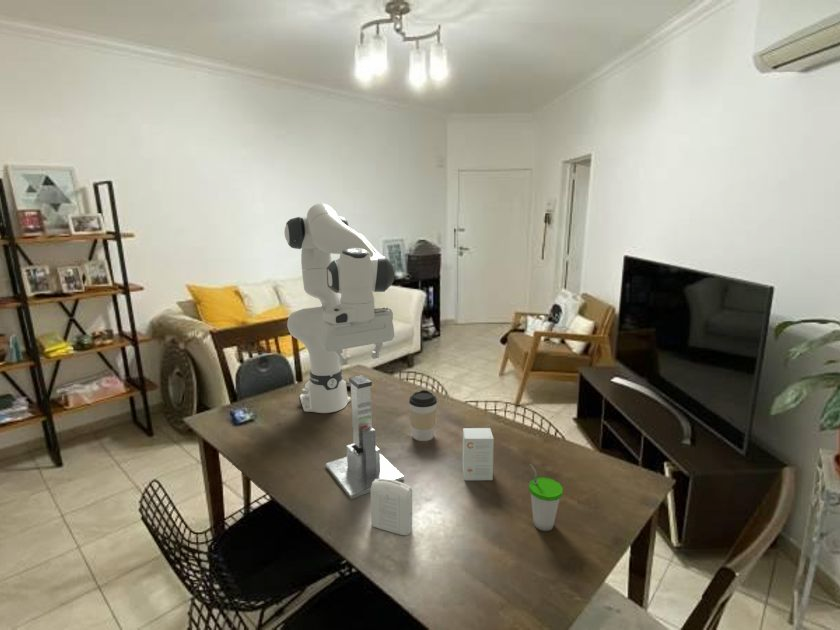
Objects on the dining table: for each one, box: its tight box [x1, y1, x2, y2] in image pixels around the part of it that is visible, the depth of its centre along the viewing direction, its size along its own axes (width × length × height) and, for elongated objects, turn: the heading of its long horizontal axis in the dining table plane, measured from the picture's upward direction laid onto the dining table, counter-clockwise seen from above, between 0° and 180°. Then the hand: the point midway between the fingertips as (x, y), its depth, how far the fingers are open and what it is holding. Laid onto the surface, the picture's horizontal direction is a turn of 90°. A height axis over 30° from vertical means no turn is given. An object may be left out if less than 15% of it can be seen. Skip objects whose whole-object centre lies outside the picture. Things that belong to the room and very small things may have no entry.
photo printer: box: [370, 479, 413, 536], centre depth 107 cm, size 10×4×12 cm, turn 69°
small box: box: [462, 427, 495, 481], centre depth 127 cm, size 8×6×13 cm
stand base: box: [325, 427, 405, 500], centre depth 128 cm, size 18×16×16 cm
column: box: [348, 374, 373, 448], centre depth 125 cm, size 6×4×19 cm, turn 32°
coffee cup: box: [408, 389, 438, 442], centre depth 149 cm, size 9×9×15 cm
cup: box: [528, 462, 564, 532], centre depth 107 cm, size 8×8×15 cm
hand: (359, 361), depth 122 cm, fingers open, 8 cm apart
